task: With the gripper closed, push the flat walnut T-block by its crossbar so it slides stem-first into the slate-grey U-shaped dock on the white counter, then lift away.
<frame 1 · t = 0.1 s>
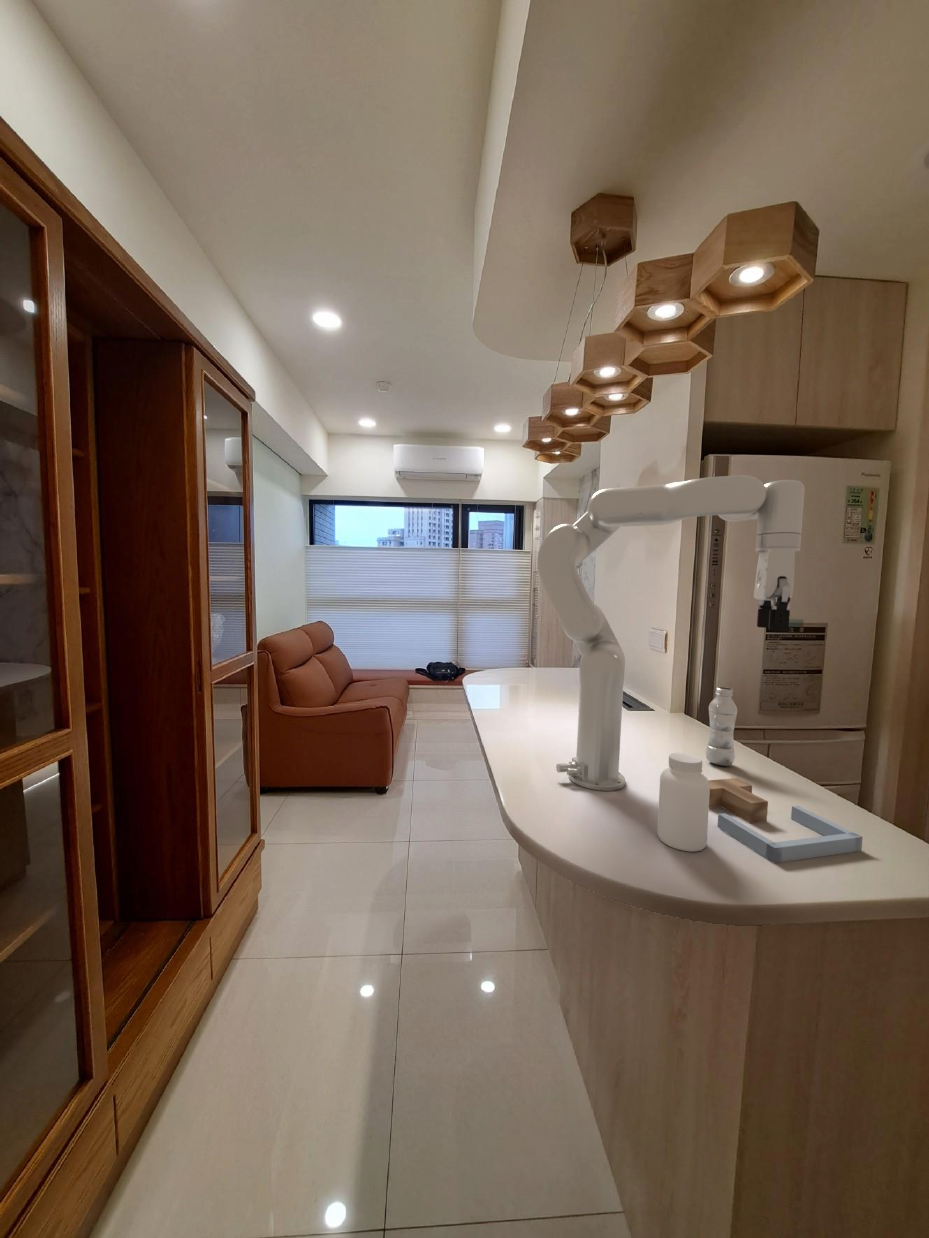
hand: (771, 629, 96), 37 cm above the countertop, tool pointing down, fingers open, 9 cm apart
pill bottle: (680, 841, 83), on the countertop
t block: (729, 806, 98), on the countertop
plastic bottle: (719, 764, 122), on the countertop
dock: (786, 838, 85), on the countertop
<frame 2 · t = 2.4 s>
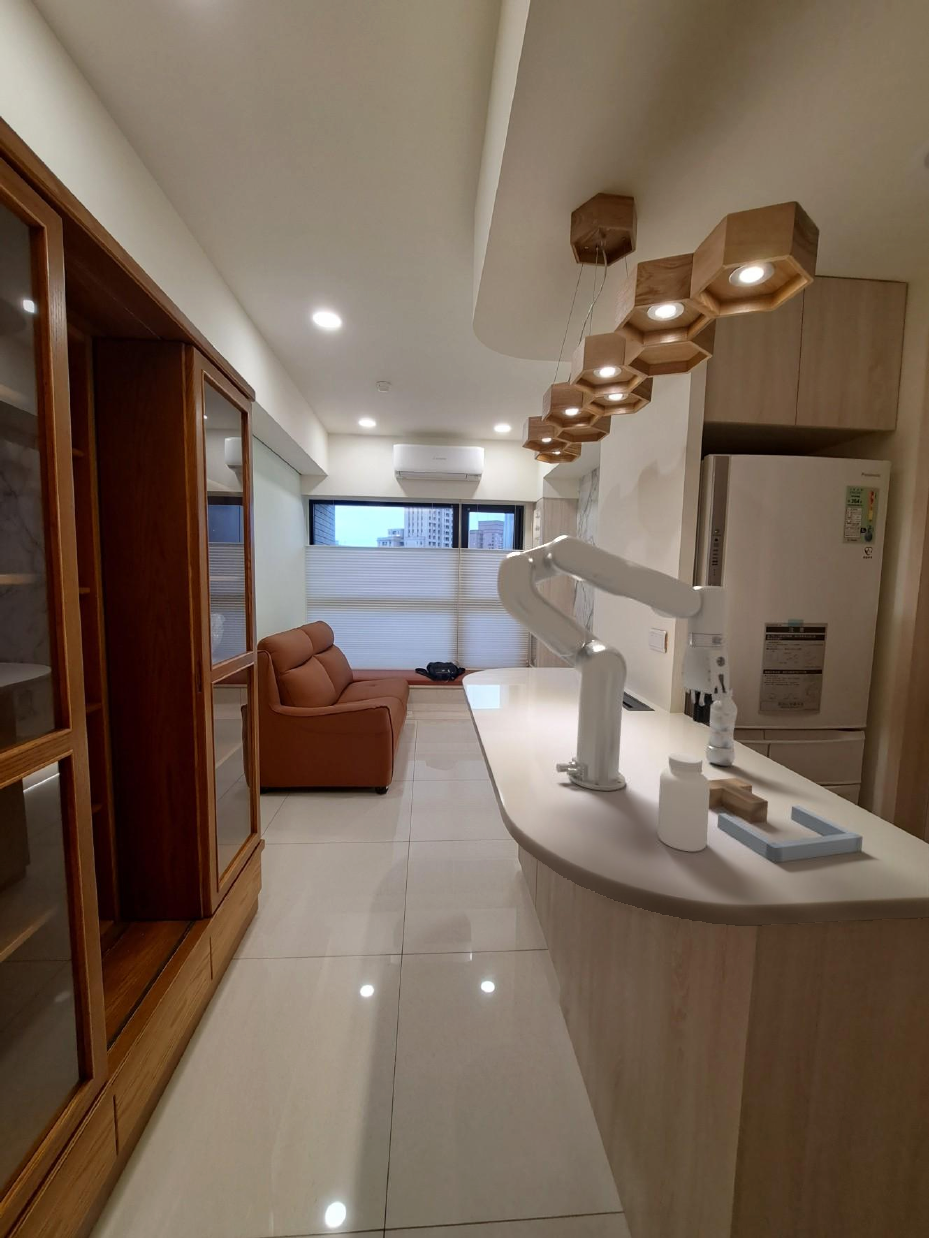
hand: (701, 721, 106), 15 cm above the countertop, tool pointing down, fingers closed
nothing on the countertop moved.
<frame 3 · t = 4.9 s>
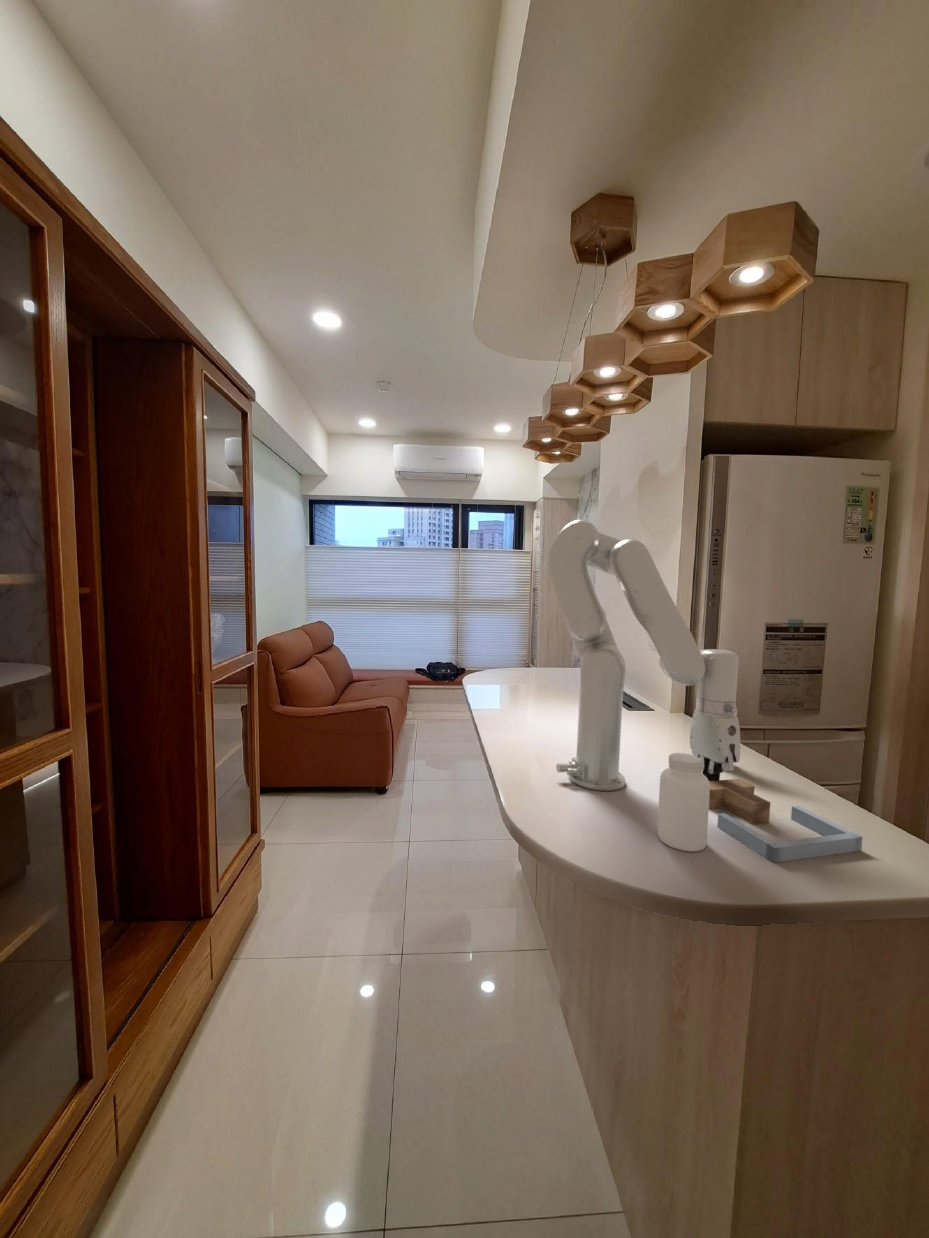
hand: (710, 788, 103), 1 cm above the countertop, tool pointing down, fingers closed
t block: (731, 806, 97), on the countertop, touching gripper
everything else where it was.
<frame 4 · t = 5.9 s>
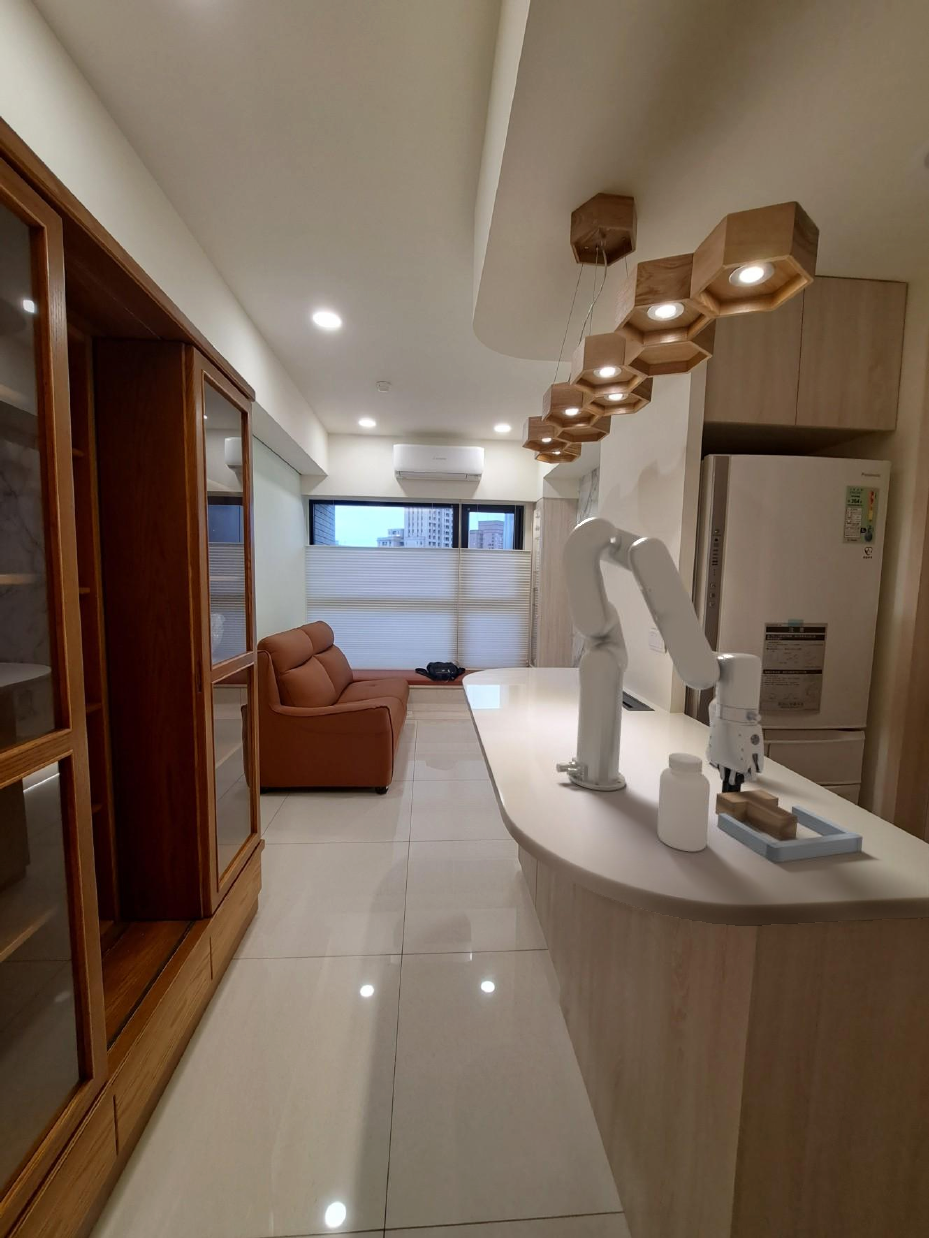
hand: (730, 800, 98), 1 cm above the countertop, tool pointing down, fingers closed
t block: (754, 820, 92), on the countertop, touching gripper
everything else where it was.
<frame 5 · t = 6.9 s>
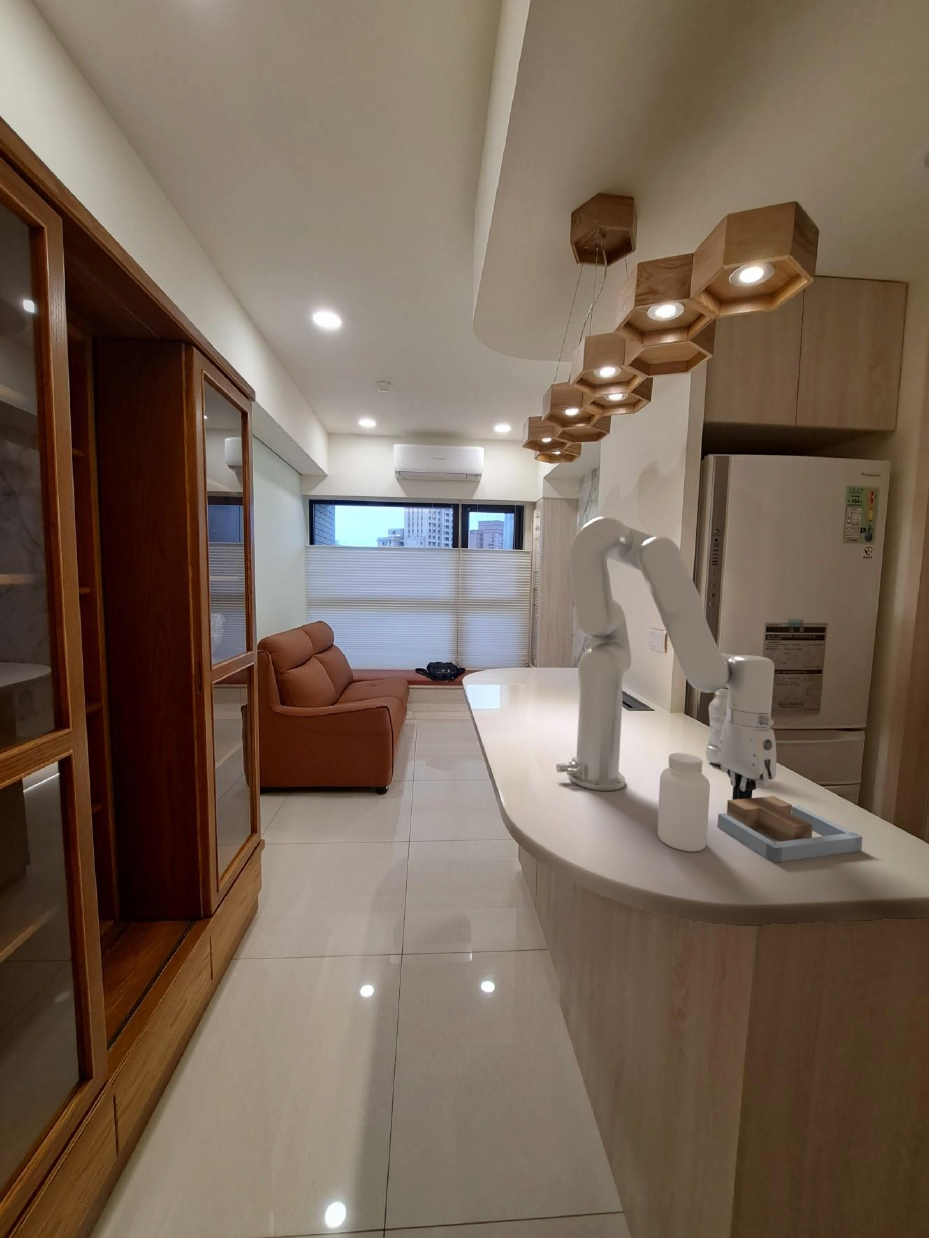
hand: (741, 807, 95), 1 cm above the countertop, tool pointing down, fingers closed
t block: (767, 827, 89), on the countertop, touching gripper
everything else where it was.
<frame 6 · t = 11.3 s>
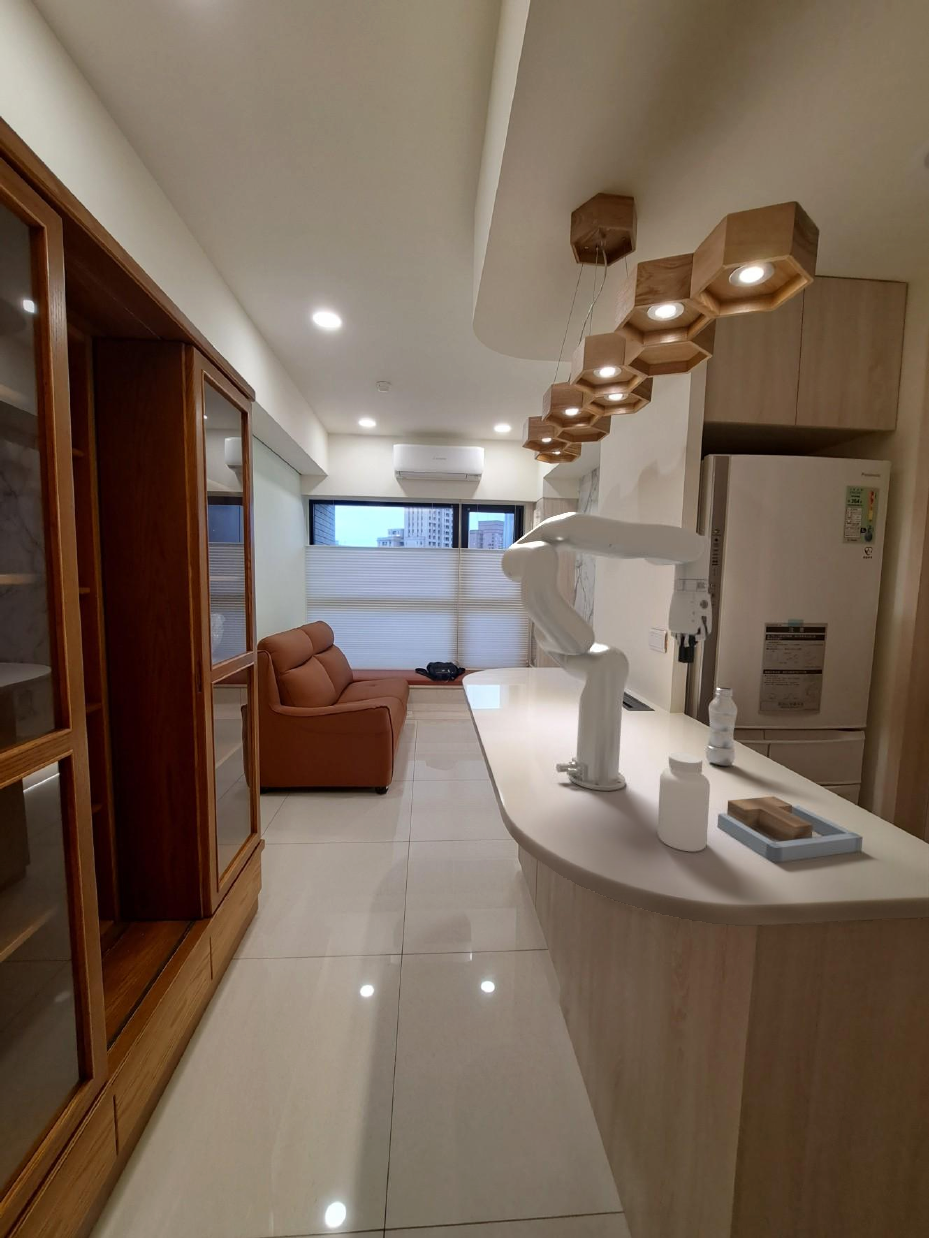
hand: (685, 662, 115), 27 cm above the countertop, tool pointing down, fingers closed
t block: (767, 828, 89), on the countertop
everything else where it was.
at the end: t block 0.3 cm from the target spot on the dock, point 0.0 cm above the dock's base; t block tilted 0° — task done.
